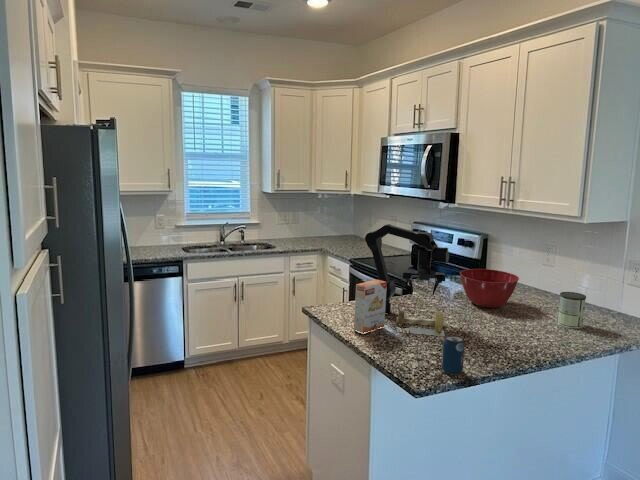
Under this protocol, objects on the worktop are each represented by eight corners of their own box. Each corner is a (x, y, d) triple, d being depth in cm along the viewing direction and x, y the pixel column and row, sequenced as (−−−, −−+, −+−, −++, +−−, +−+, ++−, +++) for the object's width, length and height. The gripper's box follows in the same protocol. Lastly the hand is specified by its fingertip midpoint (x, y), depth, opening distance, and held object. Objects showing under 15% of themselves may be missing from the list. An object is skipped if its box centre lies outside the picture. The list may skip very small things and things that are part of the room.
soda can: (465, 375, 156) (468, 341, 154) (445, 376, 155) (448, 342, 153) (457, 367, 163) (460, 334, 161) (438, 367, 162) (440, 334, 160)
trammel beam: (395, 329, 199) (396, 316, 198) (396, 321, 210) (397, 308, 209) (443, 333, 196) (444, 319, 195) (442, 325, 206) (443, 312, 205)
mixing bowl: (517, 315, 222) (520, 284, 220) (456, 308, 232) (458, 278, 229) (515, 300, 248) (517, 271, 246) (459, 294, 258) (461, 266, 256)
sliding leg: (435, 333, 195) (436, 317, 194) (434, 324, 206) (435, 309, 205) (442, 333, 195) (443, 317, 194) (441, 325, 205) (442, 310, 204)
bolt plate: (395, 332, 195) (395, 331, 195) (396, 327, 202) (396, 326, 202) (444, 337, 192) (444, 335, 192) (443, 331, 198) (443, 329, 198)
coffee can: (555, 319, 216) (558, 290, 214) (580, 322, 213) (583, 292, 211) (558, 326, 207) (562, 296, 205) (584, 330, 204) (588, 298, 201)
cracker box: (364, 336, 191) (365, 286, 188) (353, 332, 195) (354, 283, 192) (385, 328, 200) (387, 281, 197) (374, 325, 205) (376, 278, 201)
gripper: (403, 262, 203) (401, 297, 205) (447, 265, 199) (445, 300, 202) (403, 258, 213) (401, 291, 216) (445, 260, 210) (443, 293, 213)
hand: (422, 294), depth 211 cm, fingers open, 9 cm apart
